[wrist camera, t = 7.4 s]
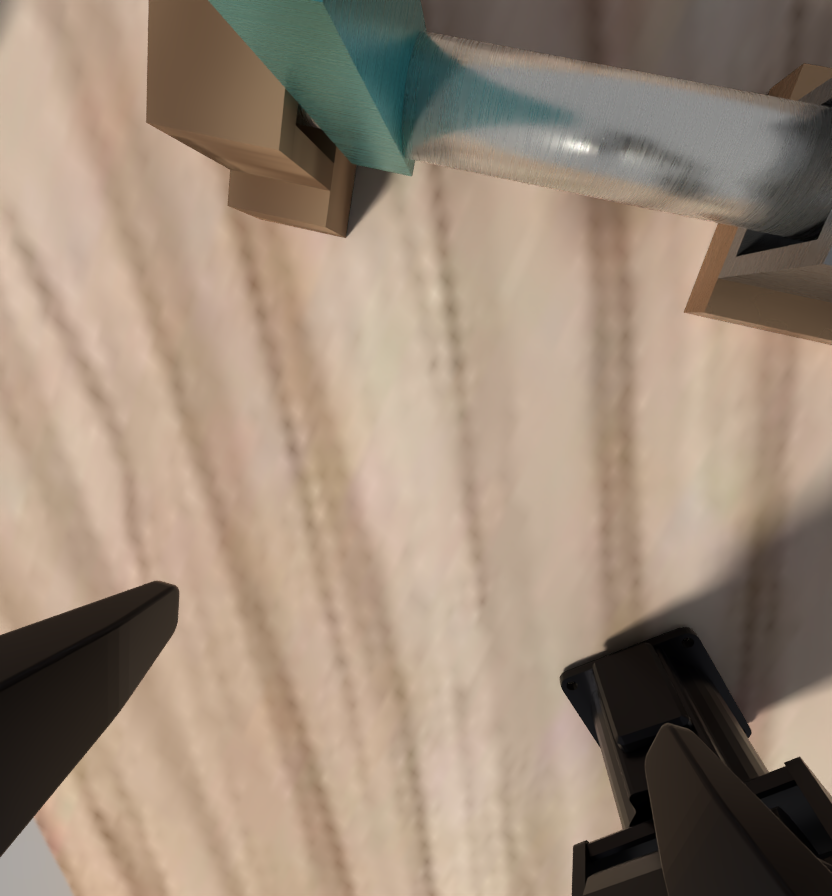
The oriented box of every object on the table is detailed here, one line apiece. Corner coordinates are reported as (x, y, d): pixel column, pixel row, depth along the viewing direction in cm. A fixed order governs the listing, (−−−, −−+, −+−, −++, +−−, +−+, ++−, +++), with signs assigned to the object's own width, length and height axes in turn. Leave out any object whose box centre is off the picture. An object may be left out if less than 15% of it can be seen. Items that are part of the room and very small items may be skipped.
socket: (378, 16, 15) (311, -177, 9) (345, 238, 17) (274, 199, 11) (281, -2, 16) (152, -202, 9) (259, 219, 18) (145, 171, 12)
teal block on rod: (921, 158, 13) (1733, -124, 4) (865, 270, 14) (1449, 212, 5) (289, 37, 14) (12, -360, 6) (278, 148, 15) (27, -52, 7)
